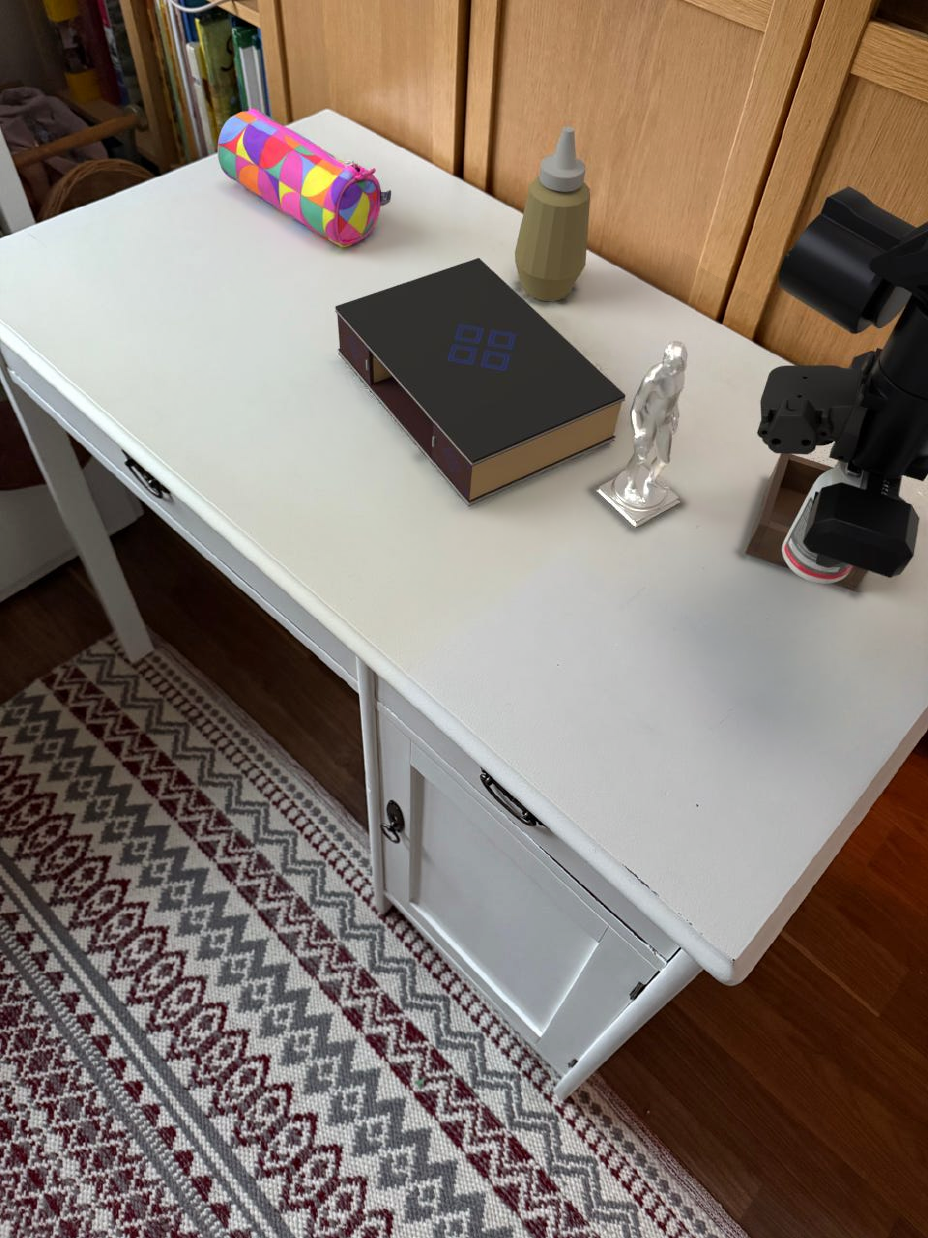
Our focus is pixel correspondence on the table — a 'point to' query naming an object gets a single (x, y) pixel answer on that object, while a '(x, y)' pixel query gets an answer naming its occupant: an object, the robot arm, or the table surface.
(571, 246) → the squeeze bottle
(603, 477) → the table surface
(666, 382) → the figurine
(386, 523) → the table surface
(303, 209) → the pencil case
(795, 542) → the pill bottle
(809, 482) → the holder
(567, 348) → the book
